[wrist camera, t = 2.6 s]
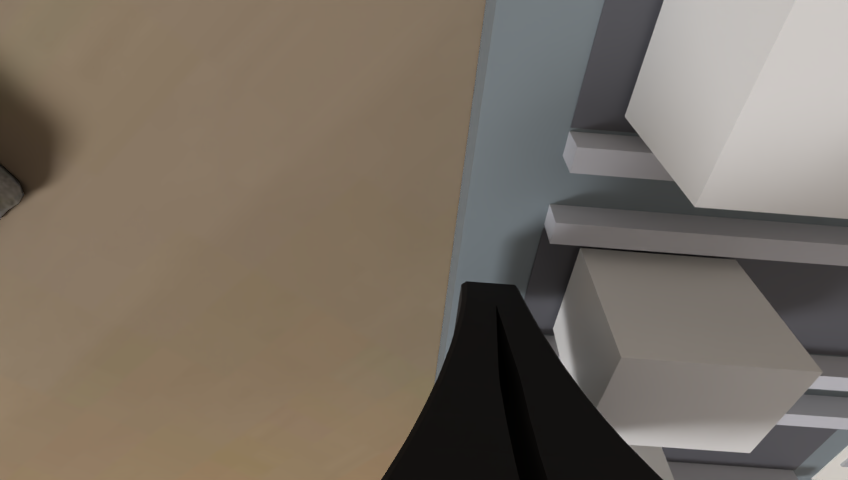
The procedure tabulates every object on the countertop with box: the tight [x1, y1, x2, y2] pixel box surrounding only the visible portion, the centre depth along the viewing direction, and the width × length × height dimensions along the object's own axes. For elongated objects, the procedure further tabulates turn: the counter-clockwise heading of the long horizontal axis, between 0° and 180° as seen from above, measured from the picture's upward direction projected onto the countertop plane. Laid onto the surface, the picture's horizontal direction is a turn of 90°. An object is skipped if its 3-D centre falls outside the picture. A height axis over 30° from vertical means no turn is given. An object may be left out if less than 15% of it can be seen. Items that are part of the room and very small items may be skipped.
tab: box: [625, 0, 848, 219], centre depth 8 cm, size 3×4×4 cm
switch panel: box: [435, 0, 848, 480], centre depth 14 cm, size 20×18×3 cm
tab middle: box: [553, 248, 823, 453], centre depth 12 cm, size 3×4×4 cm
